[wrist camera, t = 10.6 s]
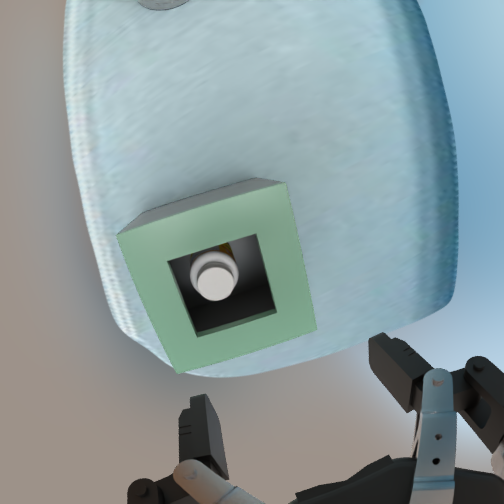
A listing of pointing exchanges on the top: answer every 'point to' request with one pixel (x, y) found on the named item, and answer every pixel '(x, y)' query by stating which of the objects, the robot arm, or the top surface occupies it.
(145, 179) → the top surface
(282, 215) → the box
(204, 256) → the supplement bottle
